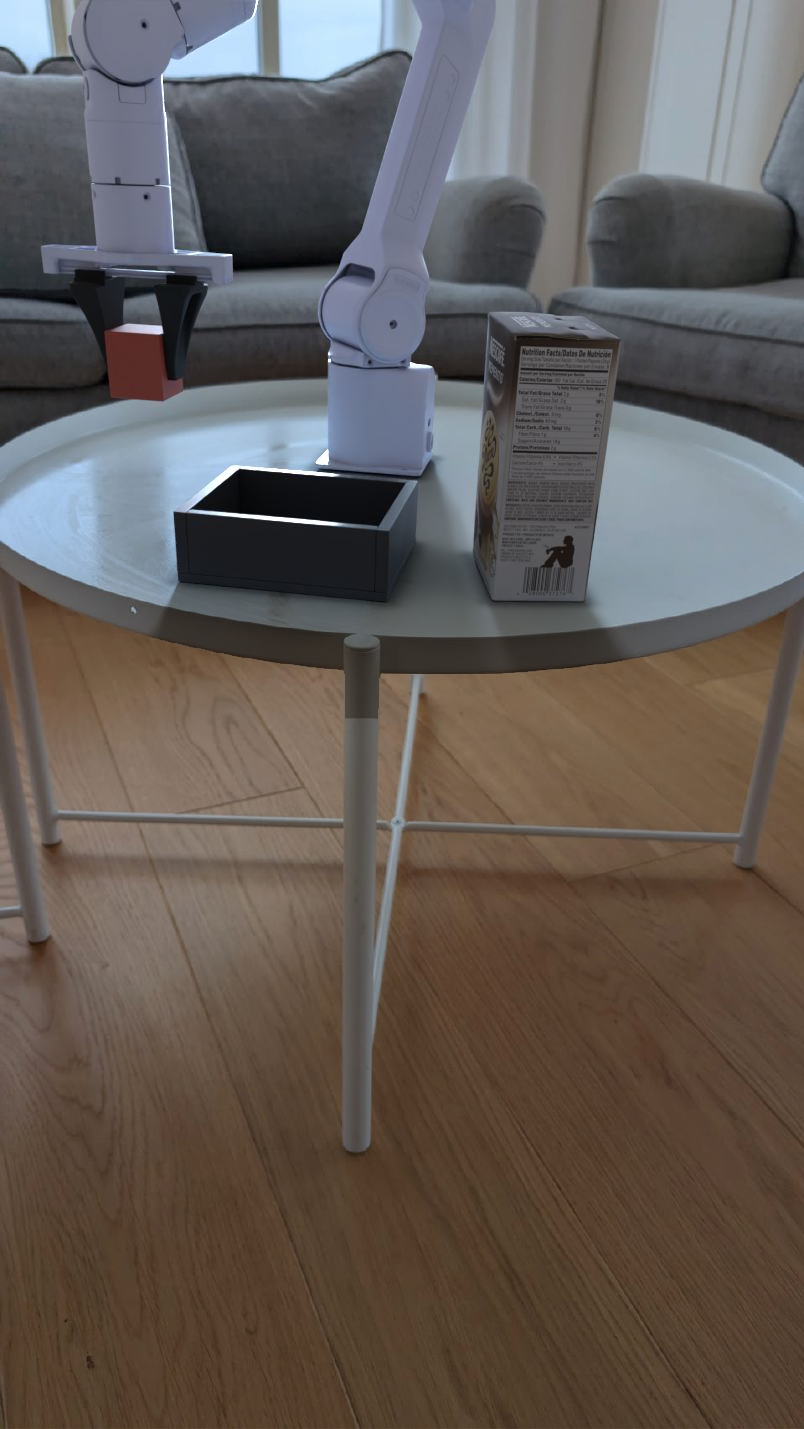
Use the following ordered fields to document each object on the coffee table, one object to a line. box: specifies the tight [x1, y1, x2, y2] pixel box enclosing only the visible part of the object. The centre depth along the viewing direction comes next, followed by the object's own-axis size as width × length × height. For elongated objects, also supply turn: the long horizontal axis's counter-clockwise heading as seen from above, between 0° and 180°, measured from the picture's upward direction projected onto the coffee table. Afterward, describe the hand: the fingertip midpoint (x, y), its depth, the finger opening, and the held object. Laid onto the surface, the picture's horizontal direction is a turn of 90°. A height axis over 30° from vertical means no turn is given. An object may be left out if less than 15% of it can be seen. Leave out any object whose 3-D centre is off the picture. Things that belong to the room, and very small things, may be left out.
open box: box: [172, 464, 419, 603], centre depth 69 cm, size 14×12×5 cm
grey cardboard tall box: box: [472, 311, 622, 602], centre depth 65 cm, size 9×6×16 cm
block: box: [105, 323, 184, 403], centre depth 81 cm, size 4×4×5 cm
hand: (146, 376), depth 82 cm, fingers closed on block, 4 cm apart
